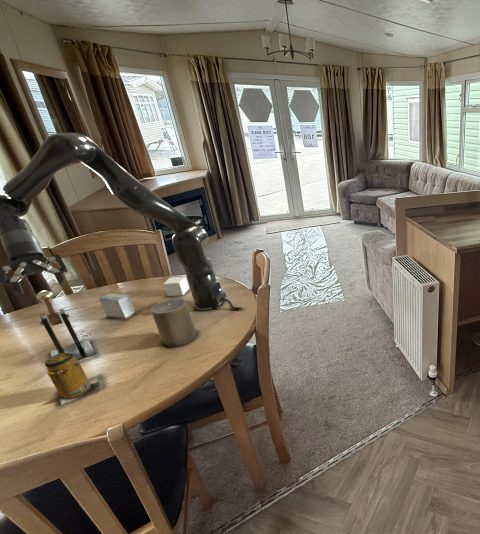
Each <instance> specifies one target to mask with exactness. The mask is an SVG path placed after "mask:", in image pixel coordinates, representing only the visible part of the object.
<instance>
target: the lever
mask: <svg viewBox="0 0 480 534" xmlns="http://www.w3.org/2000/svg"><path fill="white" fill-rule="evenodd" d="M54 297H55V294H54V293H53V292H51V291H50V290H42V291H39V292H38V293H37V294H36V297H35V298H36V299H37V300H38V302H41V303H44V304H45V306H46V309H47V311H48V313H49V314H47V315H46V317H47V319H48V321H49V323H50V325H51V327H54V326H57V325H58V326H59V325H61V324H63V321H62V320H63V319H62V317H61V315H60V313H59V311H58V312H56V311H55V309H54V307H53V304H52V300H53V299H54Z"/></svg>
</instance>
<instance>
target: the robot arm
mask: <svg viewBox="0 0 480 534" xmlns="http://www.w3.org/2000/svg"><path fill="white" fill-rule="evenodd" d="M80 163H82V164H83V165H84V166H86V167H88V168H89V169H91V170H92V171H93V172H95V173H96V174H97V175H98V176H99V177H101V178H102V180H103V181H104V182H105V184H106V186H107V188H108V189H109V191H110V193H111V194H112V196H114V198H116V200H117V201H119V203H122V204H123V205H124V206H125V207H127V208H128V209H130V210H131V211H132V212H134V213H136V214H137V215H140V216H142V217H145V218H147V219H150V220H152V221H155V222H157V223H159V224H162V225H164V226H165V227H166V228H168V229H170V230H171V231H172V232H173V233H174V234H173V236H172V239H171V240H172V241H171V242H172V247H173V249H174V252H175V254H176V258H177V260H178V263H179V264H180V265H181V266H182V268H183V271H184V274H185V277H186V280H187V283H188V287H189V290H190V293H191V296H192V300H193V305H194V306H195V307H194V308H195V309H196V310H198V311H209V310H216V309H217V308H219V307H220V306H221V305H222V304H223V303H224V302H227V303H228V304H229V306H230V308H231V309H233V310H242V309H243V307H241V306H236V307H235V306H234V305H233V303H232V301H231V300H229V299H227V293H226V291H223V290H222V286H221V283H220V281H217V277H216V273H215V270H214V266H213V263H212V258H210V257H209V256H206V255H205V251H204V249H203V247H205V246H206V245H207V244H208V242H209V235H208V232H207V231H206V230H205V229H204V228H203V227H202V226H200V225H199V224H197V223H196V222H194V221H193V220H191V219H189V218H188V217H187V216H185V215H183V213H180V212H179V211H178V210H177V209H175V208H174V207H173V206H171V205H170V204H169V203H168V202H167V201H165V200H164V199H162V198H161V197H160V196H159V195H157V194H156V193H155V192H154V191H153V190H151V189H150V188H149V187H148V186H147V185H145V184H144V183H142V182H141V181H140V180H138V179H137V178H136V177H135V176H133V175H132V174H131V173H130V172H128V171H127V170H126V169H124V167H122V166H120V165H119V164H118V162H116V161H114V159H113V158H112V157H110V156H109V155H108V154H107V153H106V152H105V151H104V150H103V149H102V148H101V147H99V145H98V144H96V143H95V142H94V141H93V140H92V139H91V138H89V137H88V136H86V135H84V134H82V133H78V132H60V133H59V132H58V133H53V134H51V135H49V136H47V137H46V138H45V139H44V141H43V143H42V144H41V145H40V147H39V149H37V152H36V153H35V154H34V155H33V157H32V158H31V159H30V161H29V162H28V163H27V164H25V166H24V167H23V168H22V169H21V170H20V171H19V172H17V173H16V174H15V175H14V176H12V177H11V178H10V179H9V180H8V181H7V182H6V183H4V185H3V187H2V191H3V193H4V194H2V193H1V194H0V242H1V245H2V248H3V250H4V252H5V254H6V256H7V258H8V260H9V265H4V266H2V265H0V283H1V285H3V286H5V287H6V286H12V289H13V290H14V292H15V293H16V294H20V295H24V294H25V292H24V290H23V288H22V286H21V283H20V282H22V280H23V279H24V278H25V277H26V276H28V277H29V276H32V275H35V274H42V273H43V272H46V273H48V274H52V275H54V277H55V279H56V281H57V283H58V285H59V286H63V285H64V283H65V279H64V277H63V274H65V273H67V272H69V270H68V268H67V265H66V264H65V262H64V260H63V259H62V258H61V255H60V254H54V255H53V256H51V257H50V256H49V257H47V256H46V254H45V253H44V250H43V248H42V246H41V244H40V242H39V240H38V238H37V236H36V235H35V234H34V231H33V230H32V228H31V226H30V224H29V222H28V221H27V220H26V219H25V218H23V216H25V215H27V214H28V212H29V211H30V207H31V205H32V204H33V201H34V200H35V199H36V198H37V197H38V196H39V195H40V194H41V193H43V192H44V190H46V189H47V188H48V187H49V185H50V183H51V181H52V178H53V176H54V175H56V173H58V172H59V171H60V170H62V169H63V168H65V167H67V166H69V165H74V164H75V165H76V164H80ZM51 262H52V263H54V264H58V267H59V268H56V267H53V266H52V265H50V263H51ZM10 270H12V271H14V272H13V274H12V276H11V278H10V279H8V276H7V274H8V273H9V271H10Z"/></svg>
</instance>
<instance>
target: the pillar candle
mask: <svg viewBox="0 0 480 534" xmlns="http://www.w3.org/2000/svg"><path fill="white" fill-rule="evenodd" d="M150 313H151V315H152V317H153V320H154V323H155V325H156V329H157V330H158V333H159V335H160V338H161V341H162V343H163V345H164V346H165V347H168V348H176V347H180V346H184V345H187V344H189V343H191V342H193V341H194V340H195V339H196V338H197V337H198V333H197V330H196V327H195V324H194V321H193V318H192V315H191V312H190V309H189V306H188V304H187V301H186V300H185V299H184V298H170V299H166V300H162V301H160V302H158V303H155V305H153V306H152V307H150Z"/></svg>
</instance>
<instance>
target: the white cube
mask: <svg viewBox="0 0 480 534" xmlns="http://www.w3.org/2000/svg"><path fill="white" fill-rule="evenodd" d="M162 284H163V287H164V291H165V293H166V297H175V296H184V295H185V294H186V293H187V292H188V290H190V287H189V283H188V280H187V277H186V276H177V277H176V276H175V277H169V278H168V279H167V280H165V282H163V283H162Z"/></svg>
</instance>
